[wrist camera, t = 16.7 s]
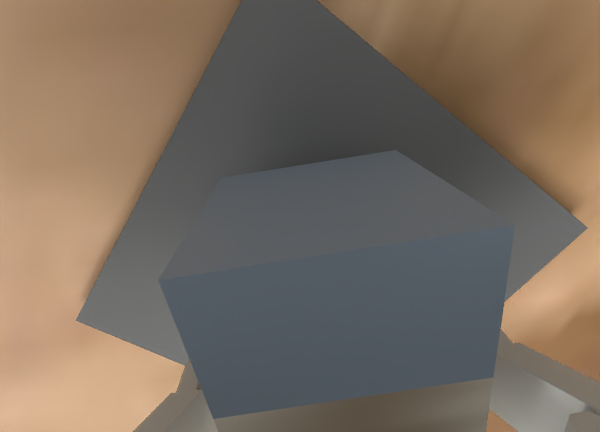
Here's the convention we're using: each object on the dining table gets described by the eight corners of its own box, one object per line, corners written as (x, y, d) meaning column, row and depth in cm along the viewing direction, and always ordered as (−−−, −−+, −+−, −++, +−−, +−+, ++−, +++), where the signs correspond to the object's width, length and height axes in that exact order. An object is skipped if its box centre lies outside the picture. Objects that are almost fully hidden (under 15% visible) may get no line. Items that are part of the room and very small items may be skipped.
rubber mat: (87, 306, 13) (76, 320, 12) (266, -34, 9) (264, -44, 8) (350, 419, 17) (353, 435, 16) (569, 218, 12) (587, 227, 12)
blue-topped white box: (286, 603, 9) (158, 279, 4) (285, 424, 13) (221, 177, 9) (464, 579, 9) (515, 225, 4) (402, 407, 13) (395, 149, 9)
